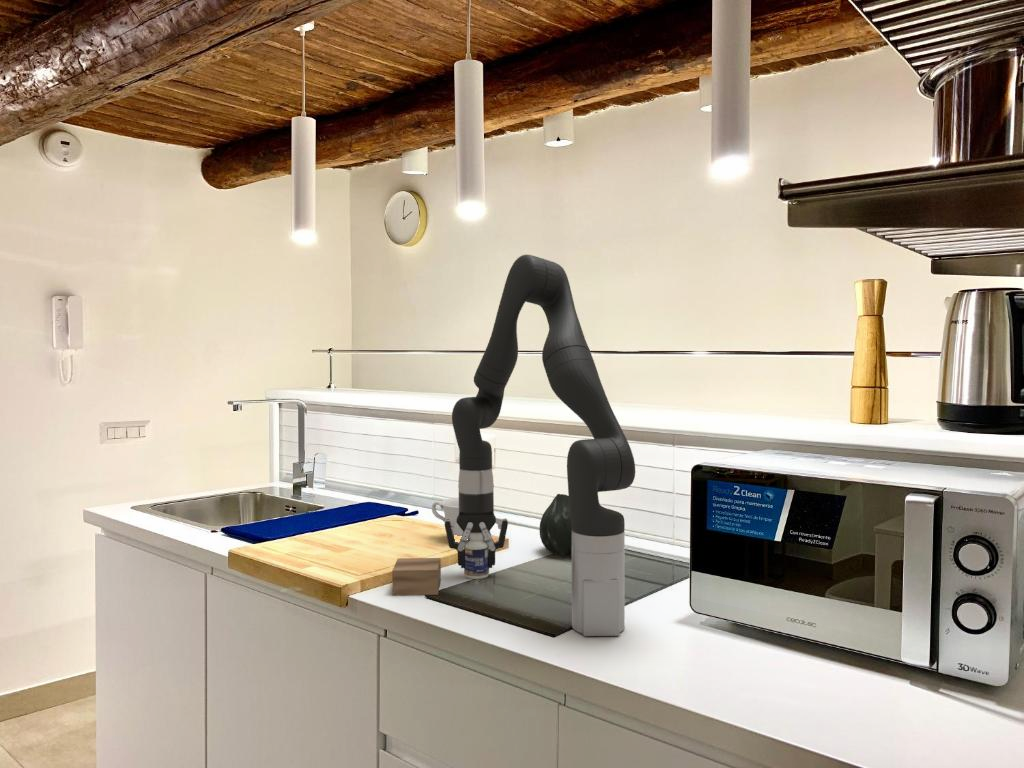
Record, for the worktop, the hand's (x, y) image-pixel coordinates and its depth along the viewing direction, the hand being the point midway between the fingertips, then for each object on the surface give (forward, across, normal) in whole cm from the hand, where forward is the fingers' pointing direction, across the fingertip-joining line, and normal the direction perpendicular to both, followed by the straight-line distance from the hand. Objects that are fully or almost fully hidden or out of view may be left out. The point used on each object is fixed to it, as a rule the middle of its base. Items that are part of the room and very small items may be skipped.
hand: (476, 566), depth 169 cm
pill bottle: (+2, 0, 0) cm, 2 cm away
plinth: (+2, -12, -8) cm, 15 cm away
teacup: (+2, -5, +32) cm, 32 cm away
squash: (+2, +22, +18) cm, 29 cm away
